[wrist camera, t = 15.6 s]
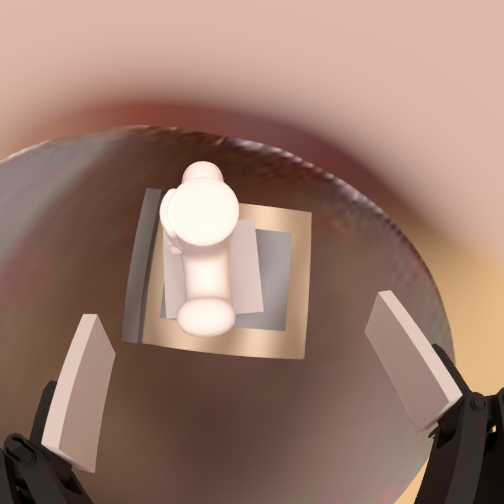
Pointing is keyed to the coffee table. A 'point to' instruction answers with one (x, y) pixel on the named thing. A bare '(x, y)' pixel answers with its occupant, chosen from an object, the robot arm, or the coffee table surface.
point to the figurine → (208, 254)
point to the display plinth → (247, 324)
